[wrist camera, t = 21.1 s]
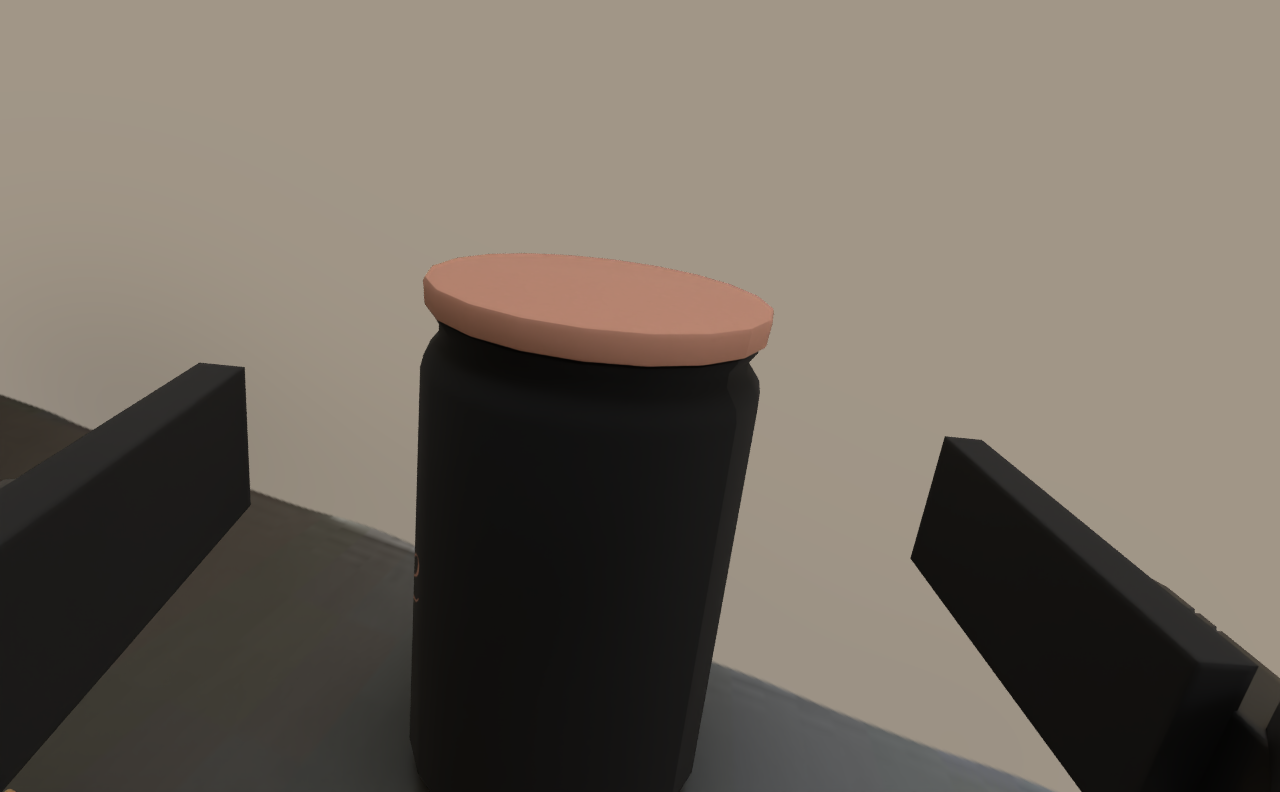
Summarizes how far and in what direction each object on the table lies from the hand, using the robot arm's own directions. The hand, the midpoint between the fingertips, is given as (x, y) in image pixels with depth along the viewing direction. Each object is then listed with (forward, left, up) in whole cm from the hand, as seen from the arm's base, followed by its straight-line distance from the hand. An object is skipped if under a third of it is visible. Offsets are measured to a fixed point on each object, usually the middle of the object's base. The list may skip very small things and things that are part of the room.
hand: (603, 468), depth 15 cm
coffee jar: (-3, +10, -17) cm, 20 cm away
